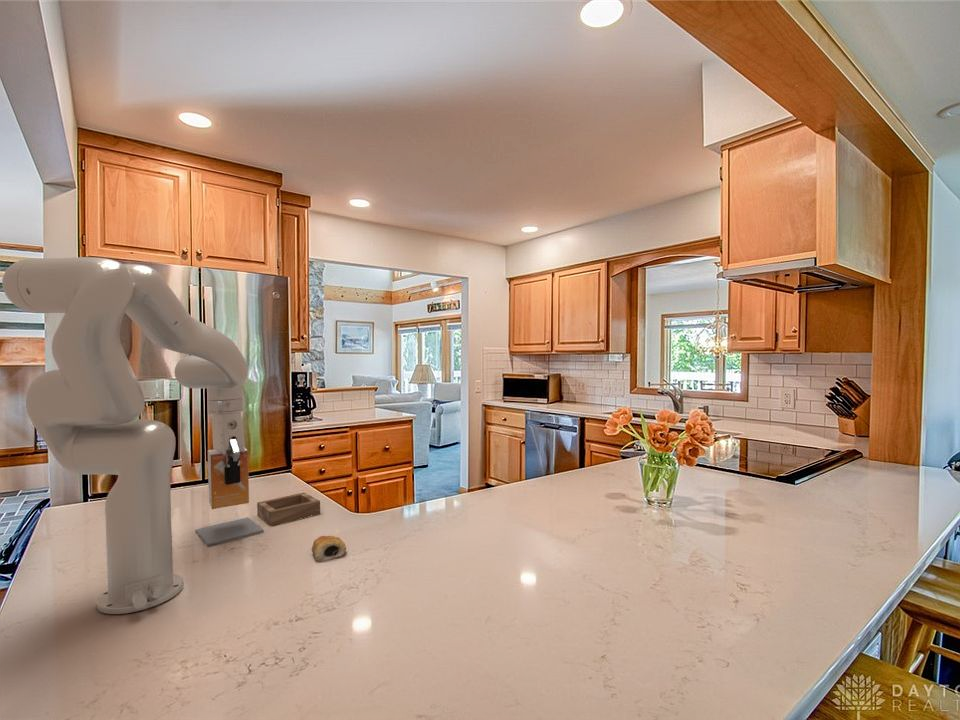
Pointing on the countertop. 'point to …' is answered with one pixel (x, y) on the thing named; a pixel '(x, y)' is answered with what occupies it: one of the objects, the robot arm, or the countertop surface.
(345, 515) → the countertop surface
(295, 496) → the holder
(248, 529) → the mat
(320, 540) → the pastry
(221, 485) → the small box
